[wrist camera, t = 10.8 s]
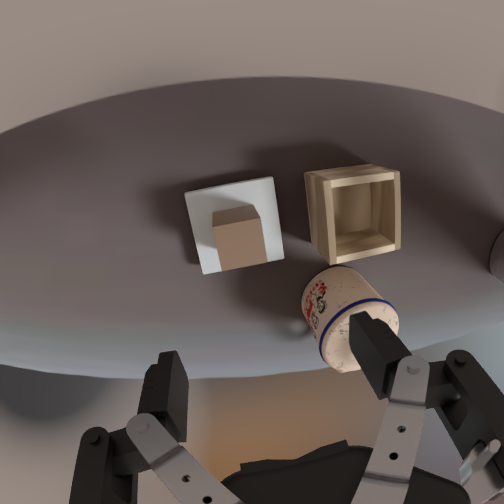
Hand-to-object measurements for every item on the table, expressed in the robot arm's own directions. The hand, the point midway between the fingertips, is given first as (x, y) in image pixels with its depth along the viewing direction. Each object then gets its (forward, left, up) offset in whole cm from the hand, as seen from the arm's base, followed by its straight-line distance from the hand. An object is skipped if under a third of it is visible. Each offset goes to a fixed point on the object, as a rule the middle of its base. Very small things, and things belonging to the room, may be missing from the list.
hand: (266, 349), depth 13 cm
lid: (0, 0, -19) cm, 19 cm away
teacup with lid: (-10, +13, -20) cm, 26 cm away
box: (-12, 0, -20) cm, 23 cm away
